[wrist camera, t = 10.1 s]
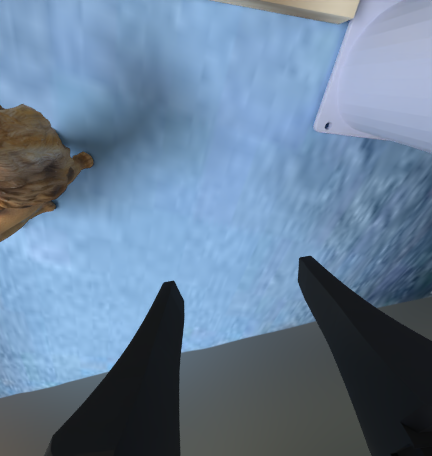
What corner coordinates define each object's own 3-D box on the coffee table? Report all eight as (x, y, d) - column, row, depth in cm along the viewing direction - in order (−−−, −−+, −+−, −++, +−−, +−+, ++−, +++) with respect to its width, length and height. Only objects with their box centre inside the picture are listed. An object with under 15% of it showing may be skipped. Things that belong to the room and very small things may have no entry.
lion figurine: (44, 64, 13) (-157, 41, 6) (121, 127, 15) (49, 169, 8) (-17, 211, 19) (-158, 296, 11) (46, 241, 21) (-36, 327, 14)
